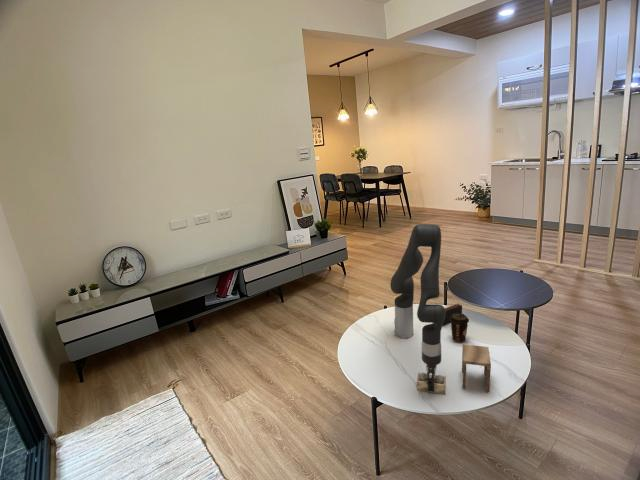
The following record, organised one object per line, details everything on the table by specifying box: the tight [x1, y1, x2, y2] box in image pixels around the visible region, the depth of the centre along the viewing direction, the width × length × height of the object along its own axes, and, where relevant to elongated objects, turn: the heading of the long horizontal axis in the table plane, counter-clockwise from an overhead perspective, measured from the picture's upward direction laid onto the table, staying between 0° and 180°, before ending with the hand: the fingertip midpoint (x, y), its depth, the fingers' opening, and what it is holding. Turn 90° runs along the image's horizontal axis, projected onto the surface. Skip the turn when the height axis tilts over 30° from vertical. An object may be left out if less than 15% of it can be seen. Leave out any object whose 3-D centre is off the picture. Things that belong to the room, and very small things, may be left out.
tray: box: [416, 372, 447, 395], centre depth 146 cm, size 11×6×6 cm, turn 70°
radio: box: [434, 302, 463, 327], centre depth 192 cm, size 19×3×15 cm, turn 115°
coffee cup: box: [450, 312, 470, 344], centre depth 176 cm, size 9×8×13 cm
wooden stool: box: [461, 343, 492, 393], centre depth 146 cm, size 10×12×13 cm
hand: (431, 385), depth 147 cm, fingers open, 6 cm apart
